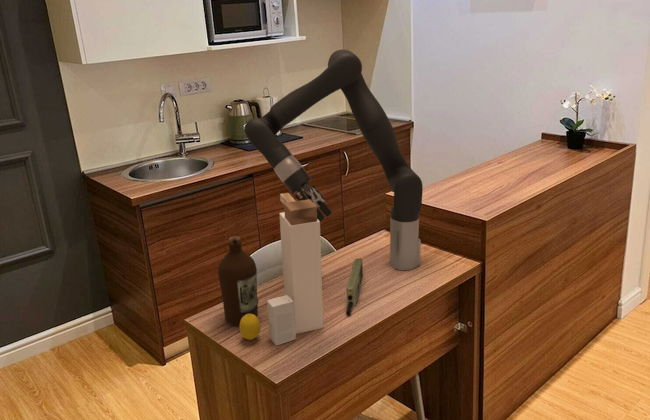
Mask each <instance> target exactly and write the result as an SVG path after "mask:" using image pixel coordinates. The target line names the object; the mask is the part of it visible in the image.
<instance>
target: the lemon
mask: <svg viewBox="0 0 650 420" xmlns="http://www.w3.org/2000/svg"><path fill="white" fill-rule="evenodd" d="M239 332H240V334H241V336H242V337H243V338H244V339H246V340H250V341H252V340H253V339H255V338H257V337H258V336H259V334H260V333H261V322H260V320H259V318H258V317H256V316H255V315H253V314H246V315H245V316H243V317H242V319H241V321H240V326H239Z"/></svg>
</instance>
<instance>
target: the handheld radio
mask: <svg viewBox="0 0 650 420" xmlns="http://www.w3.org/2000/svg"><path fill="white" fill-rule="evenodd" d="M363 276H364V271H363V259H362V258H361V257H360V258H359V257H356V258H355V259H354V260H353V262H352V264H351V270H350V274H349V277H348V281H347V284H346V303H347V304H346V305H347V308H346V311H345V315H347V316H350V315H351V313H352V309H353V307H356V304H357V301H358V298H359V295H360V290H361V286H362V281H363V278H364V277H363Z"/></svg>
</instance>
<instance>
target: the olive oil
mask: <svg viewBox="0 0 650 420" xmlns="http://www.w3.org/2000/svg"><path fill="white" fill-rule="evenodd" d="M228 248H229V251H228V252H227V253H226V254H225V255H224V256H223V258H221V260H220V262H219V265H218V269H217V275H218V279H219V287H220V292H221V293H220V294H221V298H222V304H223V305H222V306H223V312H224V320H225V321H226V323H227V324H229V325H232V326H237V327H238V326H239V327H240V321H241V319H242V317H243V316H245V315H246V314H253V315H255V316H256V317H257V318H258V316H259V312H258V311H259V310H258V309H259V307H258V305H259V298H258V278H257V277H258V276H257V275H258V274H257V273H258V270H257V265H256V262H255V260H254V259H253V258H252V256H250V255H249V254H248V253H247V252H245V251H244V250H243V249H242V241H241V237H240V236H238V235H233V236H230V237H229V238H228Z"/></svg>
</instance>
